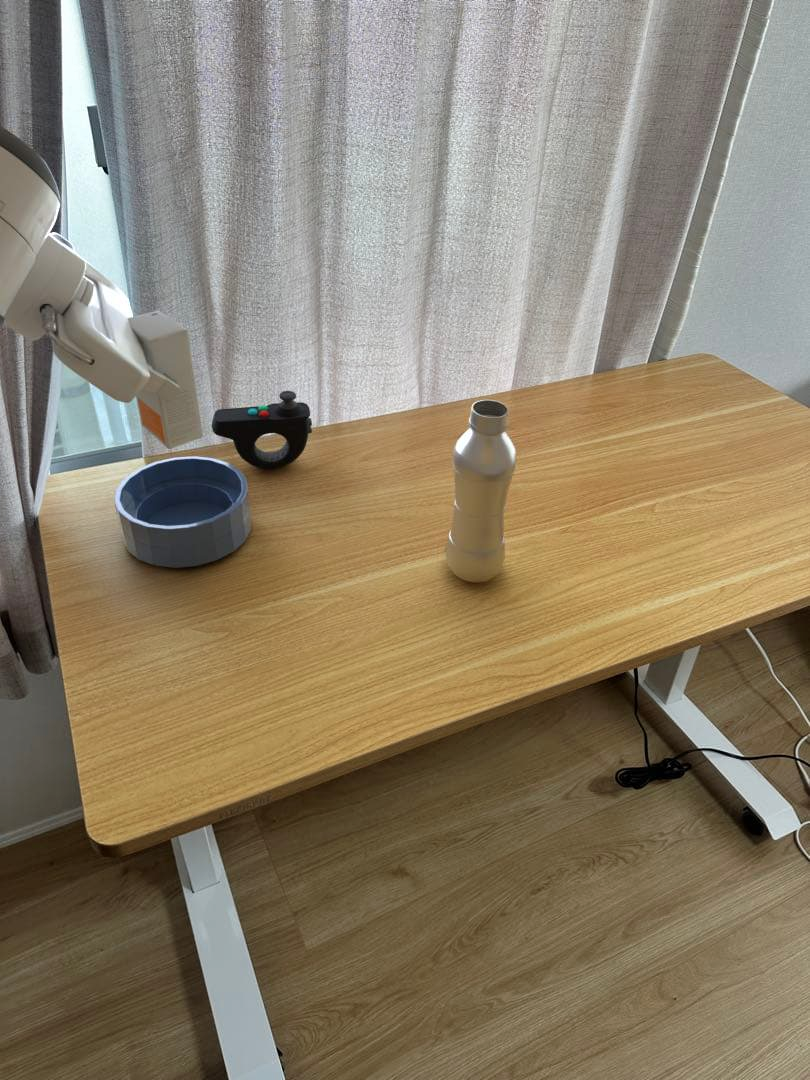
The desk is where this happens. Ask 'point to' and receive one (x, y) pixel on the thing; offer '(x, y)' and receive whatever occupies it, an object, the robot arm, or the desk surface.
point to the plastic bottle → (481, 493)
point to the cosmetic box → (172, 357)
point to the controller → (266, 430)
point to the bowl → (183, 511)
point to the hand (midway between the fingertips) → (168, 374)
